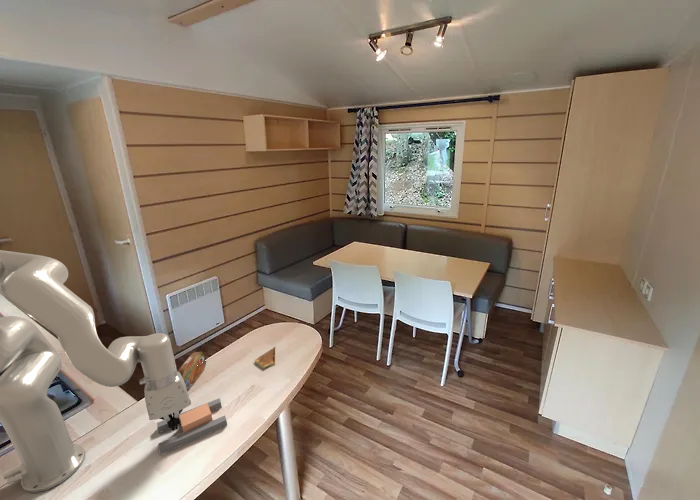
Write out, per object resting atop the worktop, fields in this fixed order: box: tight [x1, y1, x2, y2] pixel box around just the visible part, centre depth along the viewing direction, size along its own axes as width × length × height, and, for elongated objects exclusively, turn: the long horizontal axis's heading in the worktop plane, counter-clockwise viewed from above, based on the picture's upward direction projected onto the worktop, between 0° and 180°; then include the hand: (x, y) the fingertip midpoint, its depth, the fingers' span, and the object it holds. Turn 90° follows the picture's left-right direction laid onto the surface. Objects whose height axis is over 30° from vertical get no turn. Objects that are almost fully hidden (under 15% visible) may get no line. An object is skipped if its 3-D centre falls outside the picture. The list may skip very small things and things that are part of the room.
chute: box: [156, 397, 228, 456], centre depth 97 cm, size 18×10×2 cm, turn 122°
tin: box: [177, 351, 207, 390], centre depth 115 cm, size 15×3×8 cm, turn 175°
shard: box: [253, 346, 276, 369], centre depth 127 cm, size 11×8×2 cm
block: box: [179, 402, 213, 433], centre depth 97 cm, size 8×5×4 cm, turn 126°
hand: (174, 426), depth 94 cm, fingers closed
